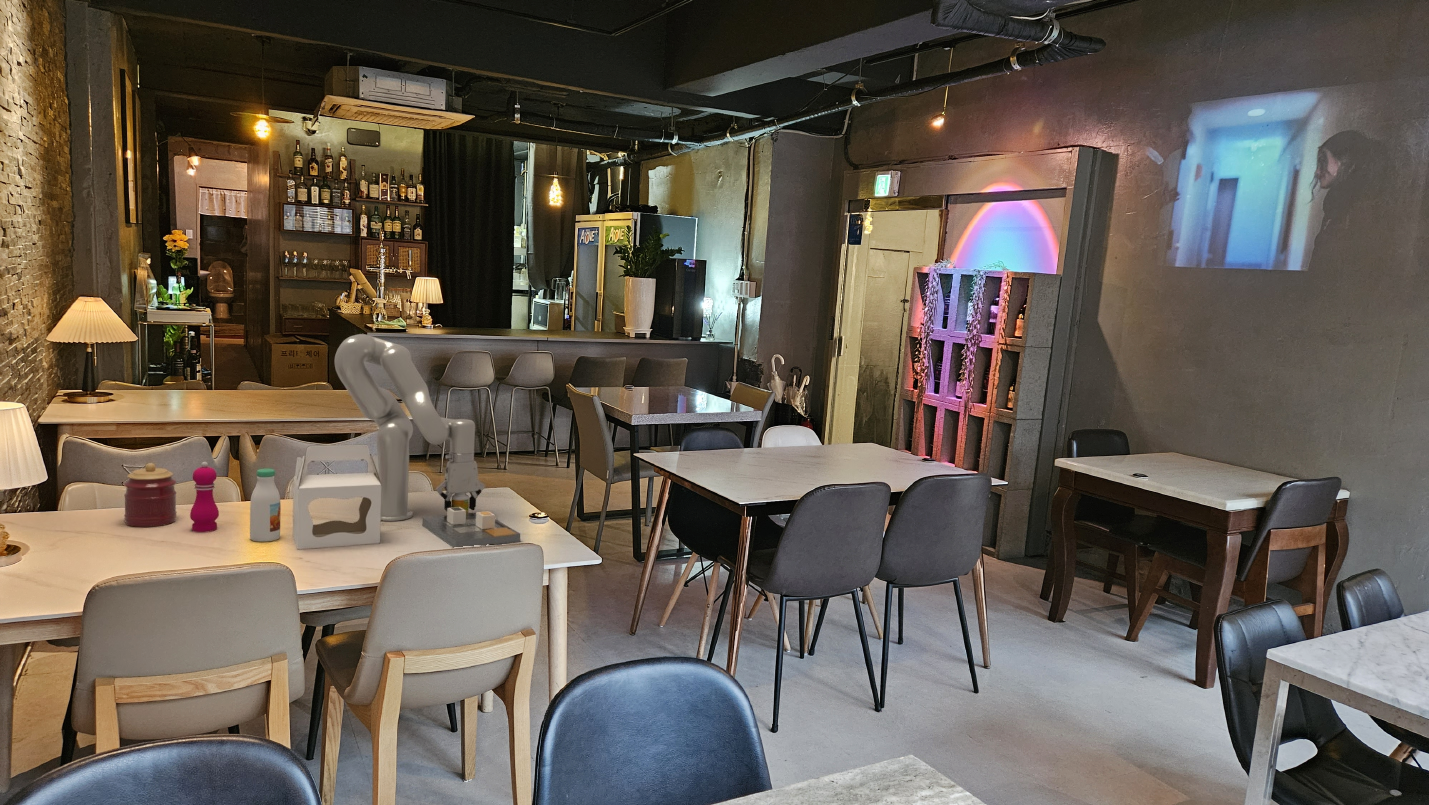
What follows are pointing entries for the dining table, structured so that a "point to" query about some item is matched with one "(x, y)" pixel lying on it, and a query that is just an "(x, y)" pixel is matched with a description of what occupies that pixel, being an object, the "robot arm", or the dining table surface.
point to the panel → (469, 532)
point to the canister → (150, 497)
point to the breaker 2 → (485, 520)
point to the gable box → (337, 488)
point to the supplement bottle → (460, 501)
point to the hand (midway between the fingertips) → (460, 510)
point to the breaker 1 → (456, 515)
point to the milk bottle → (265, 508)
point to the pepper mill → (204, 500)
